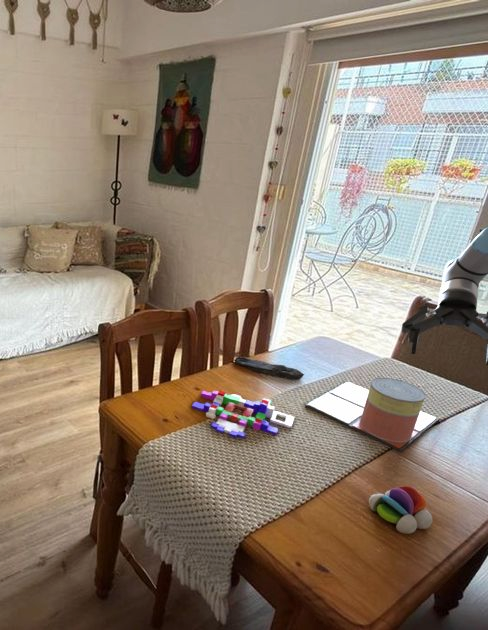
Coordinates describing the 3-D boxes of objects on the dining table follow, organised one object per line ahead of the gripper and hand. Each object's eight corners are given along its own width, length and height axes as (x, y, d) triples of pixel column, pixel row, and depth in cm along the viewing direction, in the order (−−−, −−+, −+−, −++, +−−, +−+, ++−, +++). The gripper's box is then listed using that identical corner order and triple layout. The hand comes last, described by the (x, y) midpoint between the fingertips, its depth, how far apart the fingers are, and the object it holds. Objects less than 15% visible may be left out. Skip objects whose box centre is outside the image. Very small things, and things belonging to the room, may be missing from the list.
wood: (228, 367, 148) (229, 359, 147) (234, 358, 154) (235, 351, 153) (300, 386, 137) (302, 378, 136) (304, 376, 142) (305, 368, 141)
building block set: (182, 420, 120) (184, 406, 118) (206, 388, 135) (208, 375, 134) (281, 455, 106) (284, 440, 105) (295, 415, 122) (298, 401, 121)
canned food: (422, 436, 111) (436, 396, 107) (391, 446, 108) (404, 404, 103) (379, 412, 121) (391, 374, 117) (349, 421, 118) (360, 382, 113)
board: (438, 421, 120) (439, 418, 119) (399, 453, 107) (401, 449, 107) (346, 384, 138) (347, 380, 138) (304, 407, 126) (305, 404, 125)
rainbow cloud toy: (436, 529, 86) (447, 500, 83) (398, 541, 84) (409, 512, 81) (395, 498, 94) (404, 470, 91) (359, 508, 91) (368, 480, 88)
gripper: (521, 317, 109) (521, 377, 98) (397, 305, 125) (384, 356, 114) (529, 293, 105) (529, 353, 94) (399, 284, 121) (386, 335, 110)
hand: (449, 355), depth 104 cm, fingers open, 13 cm apart
